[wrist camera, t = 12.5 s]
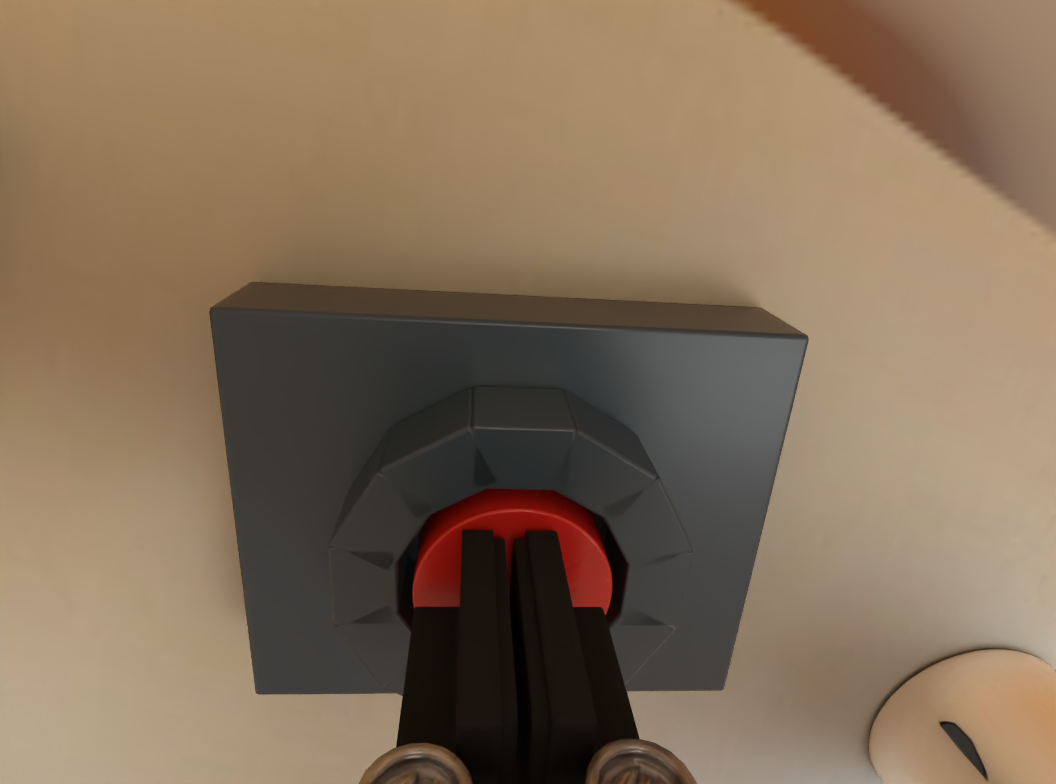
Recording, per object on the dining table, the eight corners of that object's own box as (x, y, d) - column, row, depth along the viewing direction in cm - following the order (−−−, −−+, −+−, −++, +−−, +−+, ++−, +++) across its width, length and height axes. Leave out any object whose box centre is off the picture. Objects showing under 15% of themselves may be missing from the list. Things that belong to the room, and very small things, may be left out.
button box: (763, 306, 14) (865, 368, 10) (695, 626, 17) (754, 759, 14) (248, 280, 13) (157, 338, 9) (282, 626, 16) (224, 771, 13)
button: (605, 462, 12) (625, 511, 11) (586, 608, 14) (601, 672, 12) (420, 457, 12) (411, 507, 10) (420, 608, 13) (411, 673, 12)
